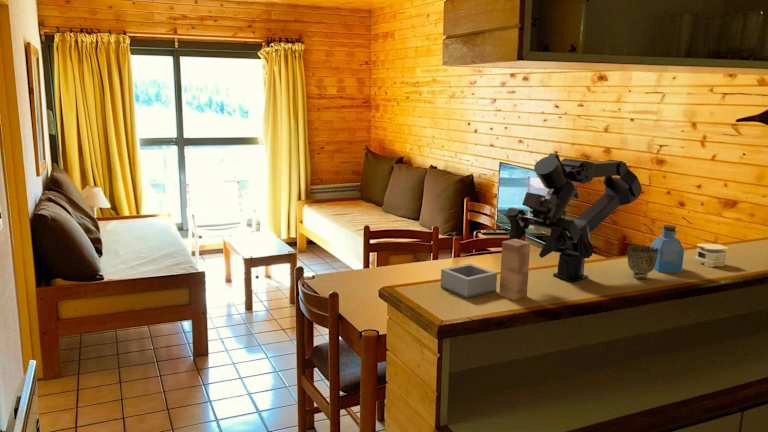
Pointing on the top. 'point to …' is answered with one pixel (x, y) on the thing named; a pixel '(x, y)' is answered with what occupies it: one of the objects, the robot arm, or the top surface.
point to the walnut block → (514, 269)
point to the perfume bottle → (668, 251)
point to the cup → (642, 260)
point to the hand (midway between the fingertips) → (524, 252)
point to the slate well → (468, 280)
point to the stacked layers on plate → (712, 254)
